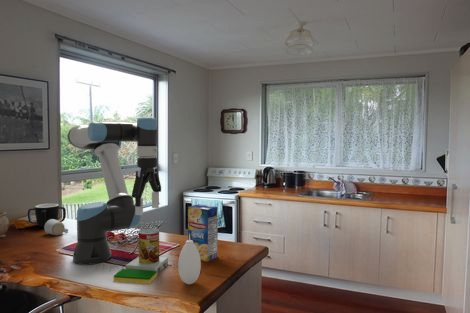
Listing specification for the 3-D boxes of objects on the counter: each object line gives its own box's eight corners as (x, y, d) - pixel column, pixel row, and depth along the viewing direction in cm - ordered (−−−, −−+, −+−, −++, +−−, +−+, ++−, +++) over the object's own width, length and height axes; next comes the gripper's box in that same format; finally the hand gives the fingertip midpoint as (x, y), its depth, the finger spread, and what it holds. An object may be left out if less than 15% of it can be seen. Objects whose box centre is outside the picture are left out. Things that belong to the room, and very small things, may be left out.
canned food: (152, 265, 134) (152, 234, 134) (134, 263, 137) (134, 232, 136) (163, 259, 142) (162, 229, 141) (146, 256, 144) (146, 227, 144)
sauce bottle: (174, 285, 123) (174, 235, 123) (185, 277, 131) (185, 229, 130) (194, 289, 121) (194, 237, 120) (204, 280, 128) (204, 231, 127)
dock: (126, 272, 135) (126, 265, 135) (141, 262, 147) (140, 254, 147) (155, 275, 133) (155, 267, 132) (168, 264, 144) (168, 257, 144)
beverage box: (207, 261, 148) (207, 209, 146) (187, 256, 154) (187, 206, 153) (217, 257, 153) (217, 207, 152) (198, 252, 159) (198, 204, 158)
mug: (54, 221, 217) (53, 201, 216) (68, 225, 207) (68, 204, 207) (25, 226, 203) (25, 205, 203) (39, 230, 194) (39, 209, 193)
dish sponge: (149, 284, 125) (149, 278, 125) (113, 282, 127) (112, 275, 127) (157, 277, 132) (156, 270, 132) (122, 274, 134) (122, 268, 134)
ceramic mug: (52, 237, 182) (52, 222, 182) (44, 234, 187) (43, 220, 186) (71, 233, 191) (71, 219, 190) (63, 230, 195) (63, 217, 195)
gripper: (140, 159, 124) (141, 218, 126) (169, 155, 149) (169, 205, 150) (121, 158, 126) (121, 217, 127) (152, 155, 150) (152, 204, 152)
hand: (147, 211), depth 139 cm, fingers open, 13 cm apart
